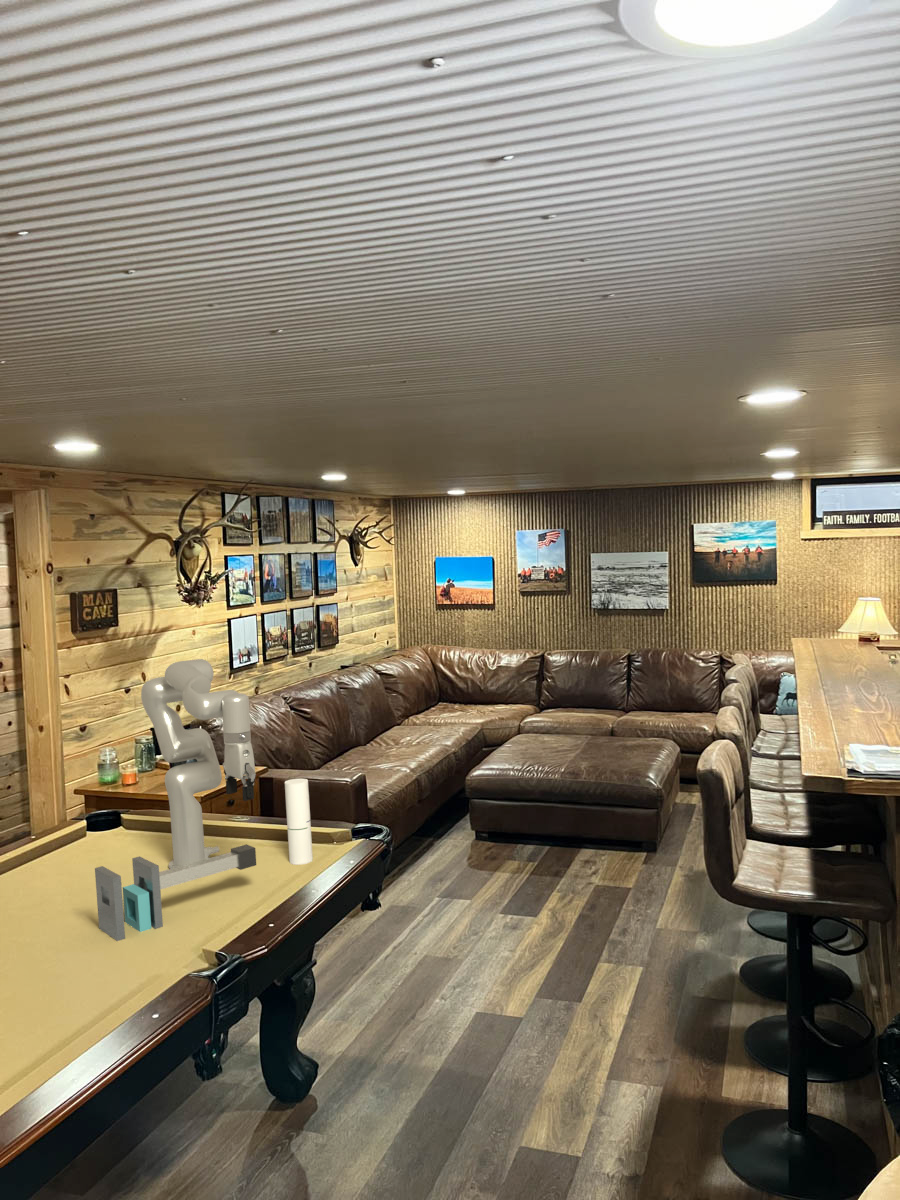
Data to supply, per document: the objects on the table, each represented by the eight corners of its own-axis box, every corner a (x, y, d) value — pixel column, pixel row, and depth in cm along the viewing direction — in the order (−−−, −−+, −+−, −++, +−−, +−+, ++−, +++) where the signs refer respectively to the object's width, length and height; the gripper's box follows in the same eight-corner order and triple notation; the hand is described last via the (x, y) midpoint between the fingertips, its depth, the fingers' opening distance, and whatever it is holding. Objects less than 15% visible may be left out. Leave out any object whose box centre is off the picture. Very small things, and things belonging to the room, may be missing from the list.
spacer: (136, 919, 245) (133, 884, 245) (151, 928, 238) (148, 892, 238) (125, 922, 243) (122, 887, 243) (140, 932, 236) (137, 895, 236)
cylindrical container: (317, 858, 289) (312, 779, 288) (304, 865, 282) (299, 784, 281) (298, 856, 292) (293, 778, 291) (285, 863, 285) (279, 783, 284)
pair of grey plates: (143, 915, 248) (139, 856, 247) (162, 926, 239) (158, 865, 238) (99, 928, 240) (94, 868, 239) (117, 941, 231) (112, 878, 230)
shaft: (247, 861, 265) (246, 844, 265) (256, 865, 261) (255, 847, 261) (143, 891, 244) (142, 873, 244) (151, 896, 241) (150, 877, 240)
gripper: (264, 739, 258) (267, 799, 259) (234, 731, 271) (237, 788, 272) (240, 744, 253) (242, 805, 254) (211, 735, 266) (213, 793, 267)
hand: (240, 796), depth 263 cm, fingers open, 9 cm apart
